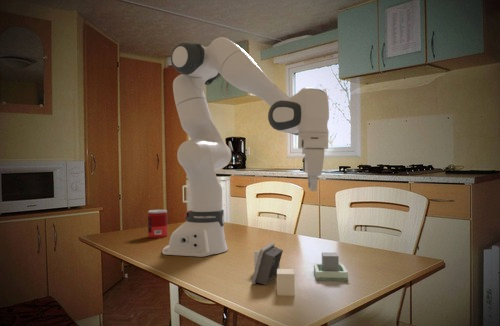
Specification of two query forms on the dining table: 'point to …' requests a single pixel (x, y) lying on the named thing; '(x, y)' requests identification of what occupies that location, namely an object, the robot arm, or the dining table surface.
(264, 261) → the electrical switch
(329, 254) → the grey part
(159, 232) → the canned food
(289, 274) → the beige part
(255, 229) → the dining table surface
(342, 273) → the tray
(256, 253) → the label plate
